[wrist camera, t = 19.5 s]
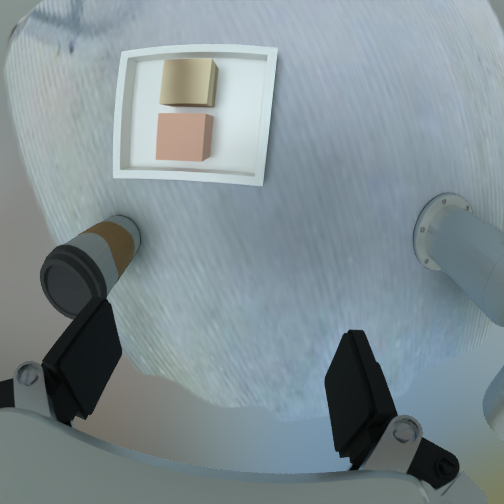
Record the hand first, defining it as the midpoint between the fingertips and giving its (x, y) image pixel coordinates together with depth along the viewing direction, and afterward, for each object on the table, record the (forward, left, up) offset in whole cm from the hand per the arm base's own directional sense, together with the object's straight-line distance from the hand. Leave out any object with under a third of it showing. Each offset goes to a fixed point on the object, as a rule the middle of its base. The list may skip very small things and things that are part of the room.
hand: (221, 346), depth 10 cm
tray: (+7, -10, -26) cm, 29 cm away
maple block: (+7, -13, -25) cm, 29 cm away
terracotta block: (+7, -7, -25) cm, 27 cm away
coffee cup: (+17, +7, -26) cm, 32 cm away
